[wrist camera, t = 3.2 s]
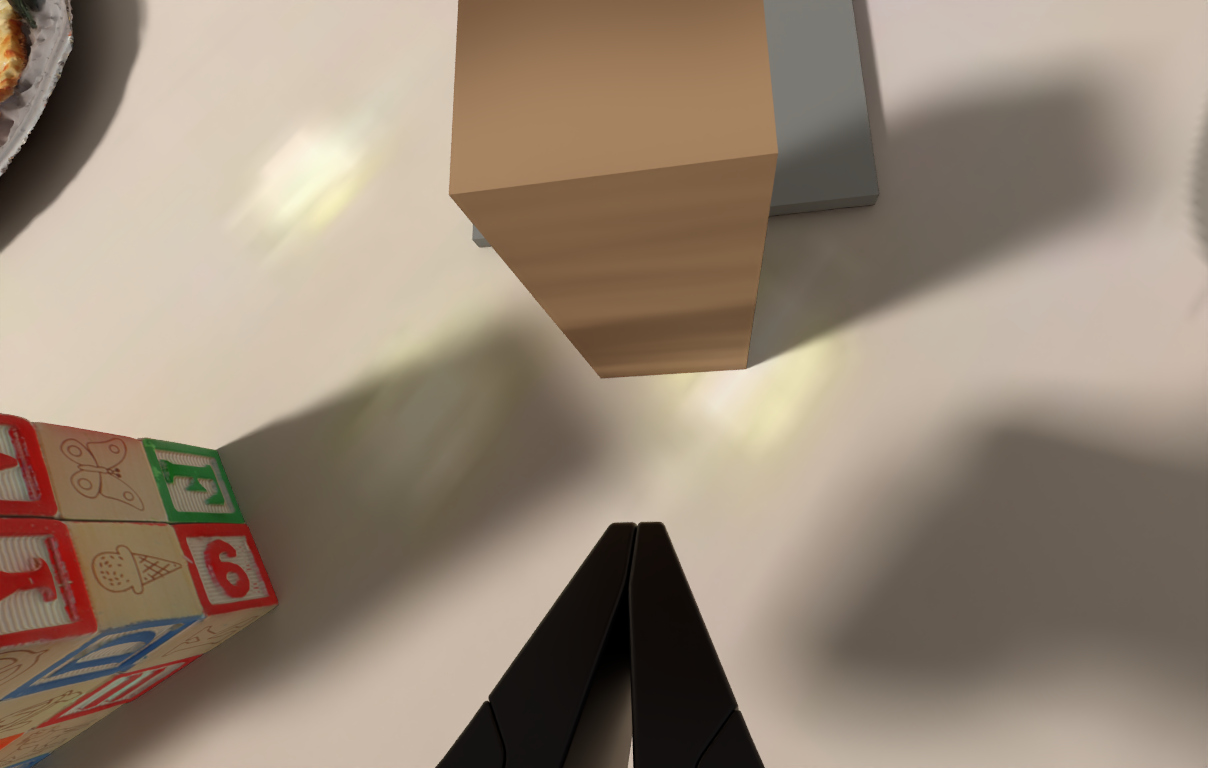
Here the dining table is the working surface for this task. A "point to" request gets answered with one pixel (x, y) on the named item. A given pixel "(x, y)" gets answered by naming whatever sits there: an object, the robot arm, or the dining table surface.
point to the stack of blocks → (110, 575)
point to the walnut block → (622, 169)
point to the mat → (815, 109)
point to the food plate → (29, 65)
